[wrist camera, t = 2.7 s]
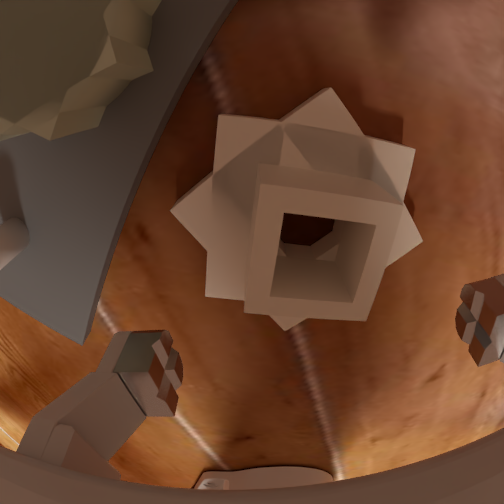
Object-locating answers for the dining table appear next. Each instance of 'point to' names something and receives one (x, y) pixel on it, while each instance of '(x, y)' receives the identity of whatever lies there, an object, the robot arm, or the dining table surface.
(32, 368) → the dining table surface
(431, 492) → the robot arm
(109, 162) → the board
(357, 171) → the gear
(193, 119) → the dining table surface
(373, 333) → the dining table surface
